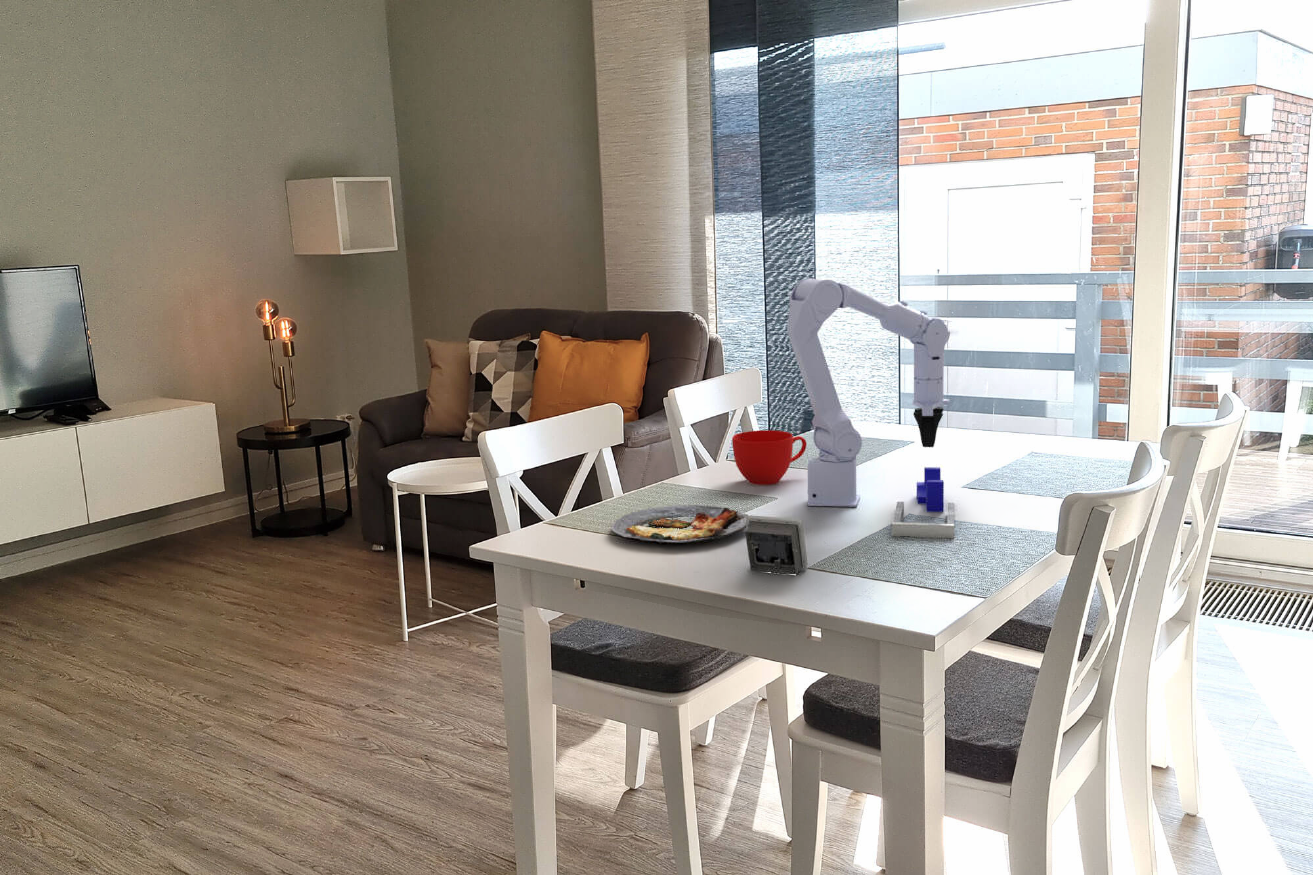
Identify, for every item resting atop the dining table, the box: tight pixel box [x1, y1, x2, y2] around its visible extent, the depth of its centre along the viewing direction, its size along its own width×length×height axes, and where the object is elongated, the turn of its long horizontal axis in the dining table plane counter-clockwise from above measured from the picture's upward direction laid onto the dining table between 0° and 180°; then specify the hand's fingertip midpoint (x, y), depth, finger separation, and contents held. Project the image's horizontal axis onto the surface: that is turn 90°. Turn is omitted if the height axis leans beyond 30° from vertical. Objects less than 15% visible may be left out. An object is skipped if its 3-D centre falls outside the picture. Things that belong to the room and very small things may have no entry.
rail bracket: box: [891, 501, 956, 539], centre depth 194 cm, size 10×15×2 cm
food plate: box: [611, 504, 749, 545], centre depth 198 cm, size 25×23×4 cm
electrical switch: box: [744, 515, 809, 576], centre depth 172 cm, size 9×5×9 cm, turn 65°
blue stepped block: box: [916, 466, 945, 513], centre depth 208 cm, size 12×4×6 cm, turn 169°
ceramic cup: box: [731, 430, 807, 486], centre depth 232 cm, size 13×17×10 cm
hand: (928, 445), depth 216 cm, fingers open, 3 cm apart
